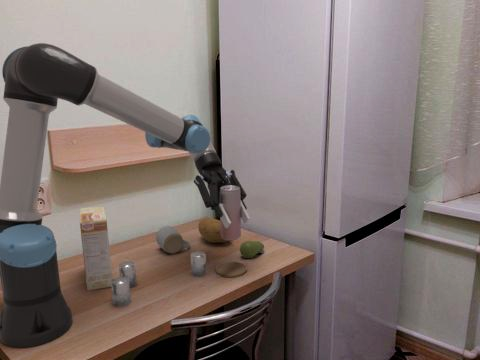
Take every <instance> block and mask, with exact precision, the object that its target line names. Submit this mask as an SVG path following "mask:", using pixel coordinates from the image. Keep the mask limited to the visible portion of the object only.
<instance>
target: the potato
mask: <svg viewBox="0 0 480 360" xmlns="http://www.w3.org/2000/svg"><path fill="white" fill-rule="evenodd" d="M198 221H199V220H198ZM197 227H198V232H199V234H200V235H201V238H203V239H204V240H206V241H208V242H209V243H212V244H215V243H216V244H217V243H224V242H226V241H227V240H224V239H222V237H221V228H220V219H215V218H212V217H204V218H202V219H200V221H199V222H198V225H197Z"/></svg>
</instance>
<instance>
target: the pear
mask: <svg viewBox="0 0 480 360" xmlns="http://www.w3.org/2000/svg"><path fill="white" fill-rule="evenodd" d="M264 248H265V245H264V243H263V242H261V241H259V240H245V241H244V242H243V243H241V245H240V246H239V253H240V255H241V256H242V257H243V258H245V259H252V258H254V257H256V255H257V254H263V253H264Z"/></svg>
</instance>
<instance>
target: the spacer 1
mask: <svg viewBox="0 0 480 360" xmlns="http://www.w3.org/2000/svg"><path fill="white" fill-rule="evenodd" d="M111 296H112V297H111V298H112V305H113V306H114V307H124V306H125V307H126V306H128V305H130V303H131V301H132V300H131V288H130V285H129V278H127V277H119V276H118V277H115V278H112V281H111Z"/></svg>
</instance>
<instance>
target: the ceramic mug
mask: <svg viewBox="0 0 480 360" xmlns="http://www.w3.org/2000/svg"><path fill="white" fill-rule="evenodd" d="M155 235H156V236H155V241H156V244H157V245H158V246H160V248H161V249H163V251H164V252H166V253H168V254H172V255H173V254H177V253H179V252H180V251H181V250H182V249H186V250H188V249H190V247H191V243H190V242H189V241H187V240H186V239H184V238H183V236H182V235H181V233H180V232H178V230H177V229H176V228H175V227H173V226H171V225H164V226H162V227H160V228H159V229H158V230H157V232H156V234H155Z"/></svg>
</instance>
